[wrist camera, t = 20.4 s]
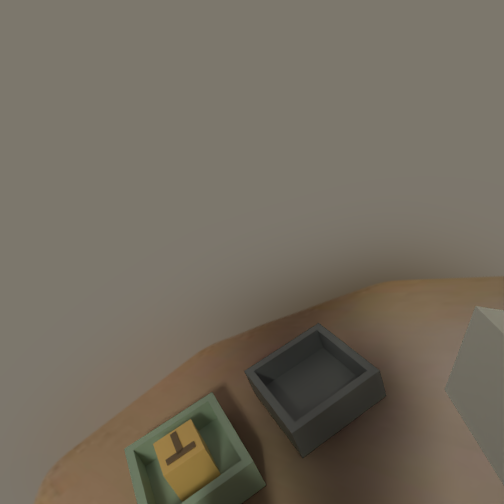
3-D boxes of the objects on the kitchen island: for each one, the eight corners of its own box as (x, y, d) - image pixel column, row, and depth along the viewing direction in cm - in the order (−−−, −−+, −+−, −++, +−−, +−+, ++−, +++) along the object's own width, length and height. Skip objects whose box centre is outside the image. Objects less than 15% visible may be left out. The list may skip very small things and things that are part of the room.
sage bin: (223, 413, 45) (212, 392, 44) (266, 485, 37) (253, 461, 35) (140, 469, 42) (124, 448, 41) (164, 560, 34) (145, 538, 32)
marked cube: (206, 444, 41) (190, 417, 40) (221, 475, 38) (204, 447, 36) (170, 469, 40) (152, 442, 38) (182, 502, 37) (162, 475, 35)
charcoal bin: (326, 345, 49) (318, 322, 47) (386, 395, 40) (379, 370, 39) (254, 393, 46) (244, 371, 45) (302, 457, 38) (292, 433, 36)
